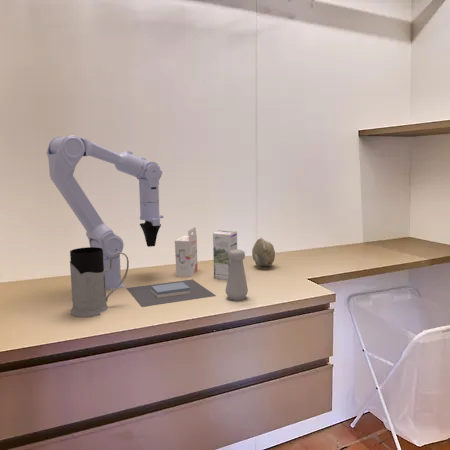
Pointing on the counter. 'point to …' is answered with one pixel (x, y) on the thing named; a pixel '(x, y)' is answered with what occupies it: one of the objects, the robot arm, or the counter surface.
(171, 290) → the block
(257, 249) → the rock
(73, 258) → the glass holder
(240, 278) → the salt shaker
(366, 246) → the counter surface
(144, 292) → the mat
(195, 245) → the ink cartridge box
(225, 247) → the syrup box
